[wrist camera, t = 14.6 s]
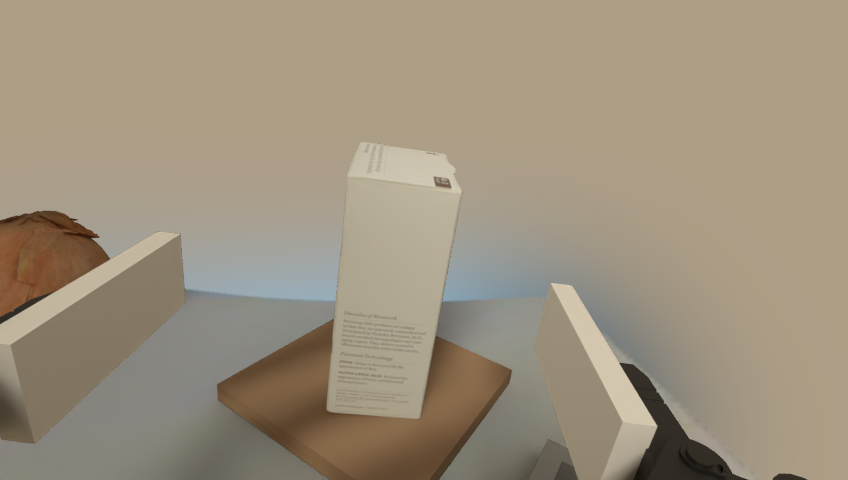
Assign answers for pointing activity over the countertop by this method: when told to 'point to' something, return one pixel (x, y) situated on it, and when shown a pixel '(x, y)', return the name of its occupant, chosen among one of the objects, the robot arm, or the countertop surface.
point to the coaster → (363, 434)
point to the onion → (43, 256)
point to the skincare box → (391, 279)
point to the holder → (554, 464)
